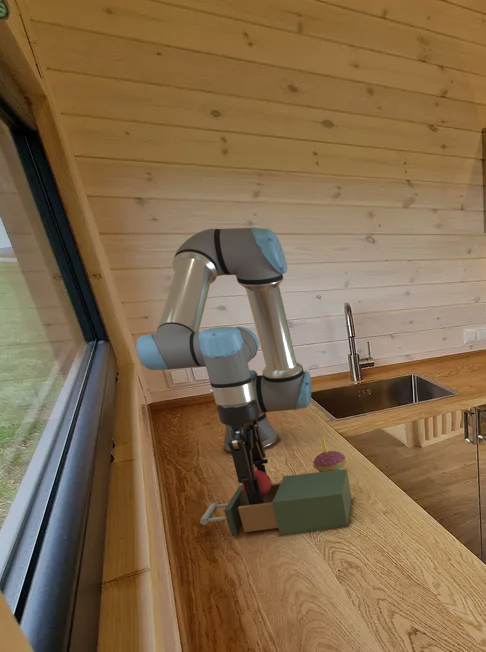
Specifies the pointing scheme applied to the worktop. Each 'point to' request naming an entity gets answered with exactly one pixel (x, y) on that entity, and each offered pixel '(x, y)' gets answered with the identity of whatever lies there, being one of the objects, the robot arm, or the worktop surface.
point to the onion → (261, 482)
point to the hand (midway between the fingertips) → (260, 497)
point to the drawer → (245, 512)
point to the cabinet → (312, 502)
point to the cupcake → (329, 460)
